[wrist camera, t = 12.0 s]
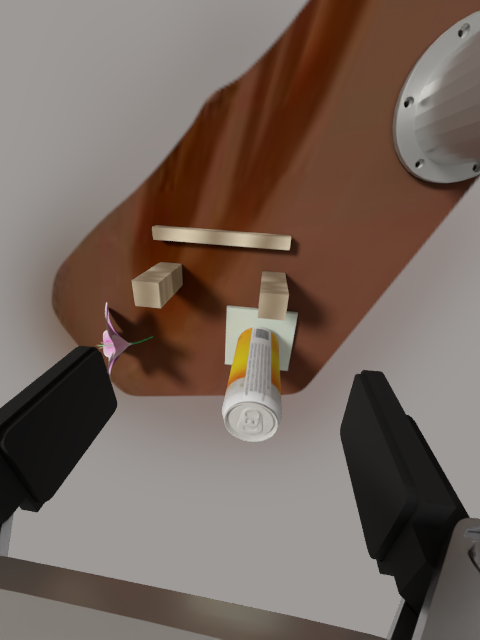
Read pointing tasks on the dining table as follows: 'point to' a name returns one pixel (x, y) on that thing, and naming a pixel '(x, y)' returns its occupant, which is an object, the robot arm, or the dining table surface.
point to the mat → (248, 318)
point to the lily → (114, 343)
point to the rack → (168, 276)
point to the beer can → (254, 387)
